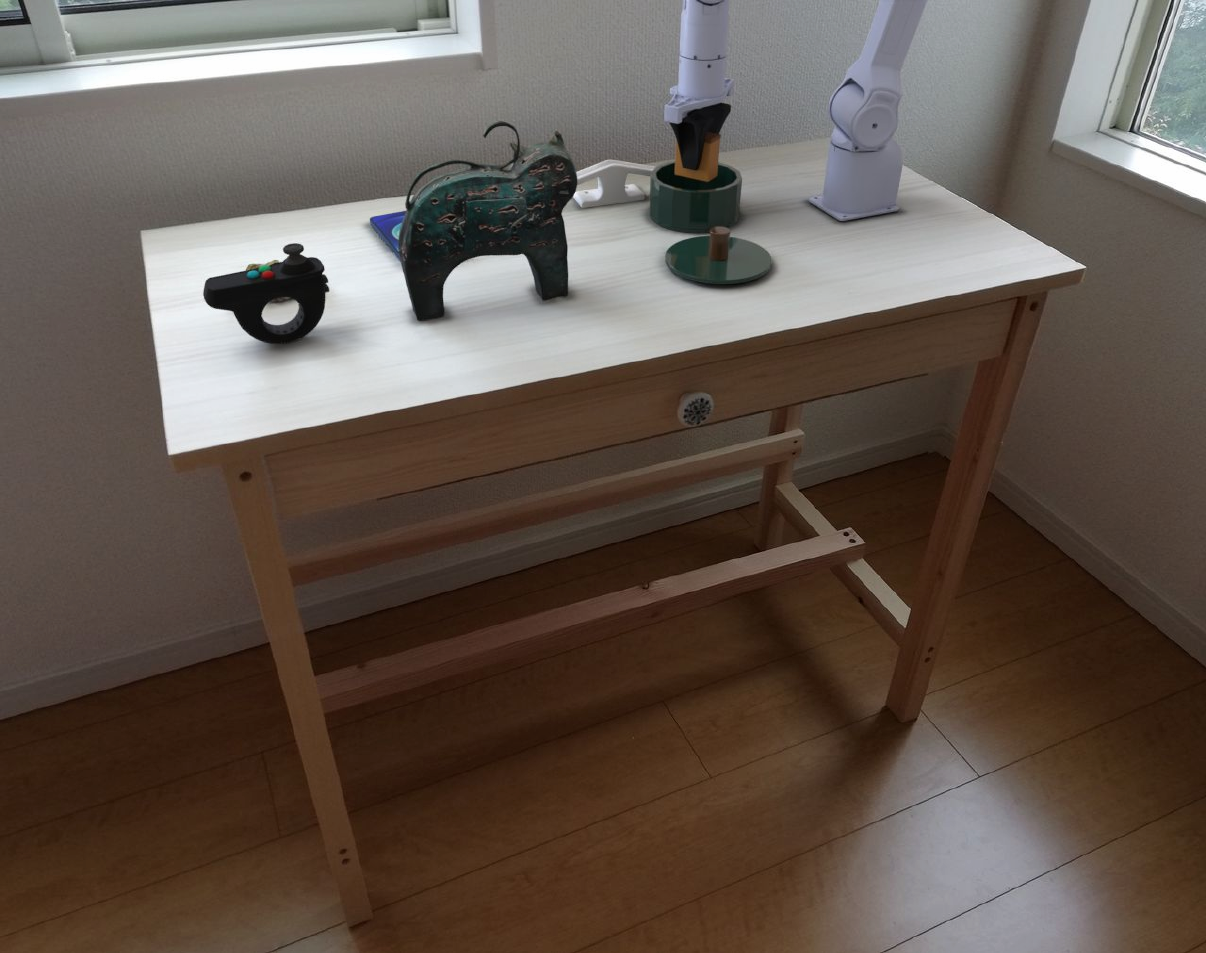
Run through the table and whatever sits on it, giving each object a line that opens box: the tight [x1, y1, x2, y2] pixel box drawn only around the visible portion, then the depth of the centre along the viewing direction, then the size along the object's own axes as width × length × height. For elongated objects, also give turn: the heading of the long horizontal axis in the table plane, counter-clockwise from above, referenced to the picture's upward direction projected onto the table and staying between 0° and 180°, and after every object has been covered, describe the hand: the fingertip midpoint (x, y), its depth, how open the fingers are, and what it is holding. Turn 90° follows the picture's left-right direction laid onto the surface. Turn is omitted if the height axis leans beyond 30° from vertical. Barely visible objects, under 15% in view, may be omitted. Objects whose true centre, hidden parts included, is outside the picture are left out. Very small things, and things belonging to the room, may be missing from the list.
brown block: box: [674, 132, 722, 182], centre depth 129 cm, size 5×3×6 cm, turn 57°
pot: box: [649, 160, 743, 234], centre depth 132 cm, size 12×12×6 cm
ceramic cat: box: [398, 120, 578, 321], centre depth 107 cm, size 20×6×20 cm, turn 110°
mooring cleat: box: [572, 159, 657, 209], centre depth 137 cm, size 4×20×5 cm, turn 109°
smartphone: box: [369, 210, 406, 263], centre depth 127 cm, size 8×1×15 cm
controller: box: [202, 242, 330, 345], centre depth 103 cm, size 4×12×10 cm, turn 117°
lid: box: [664, 227, 773, 285], centre depth 120 cm, size 13×13×4 cm
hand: (696, 164), depth 130 cm, fingers closed on brown block, 2 cm apart
